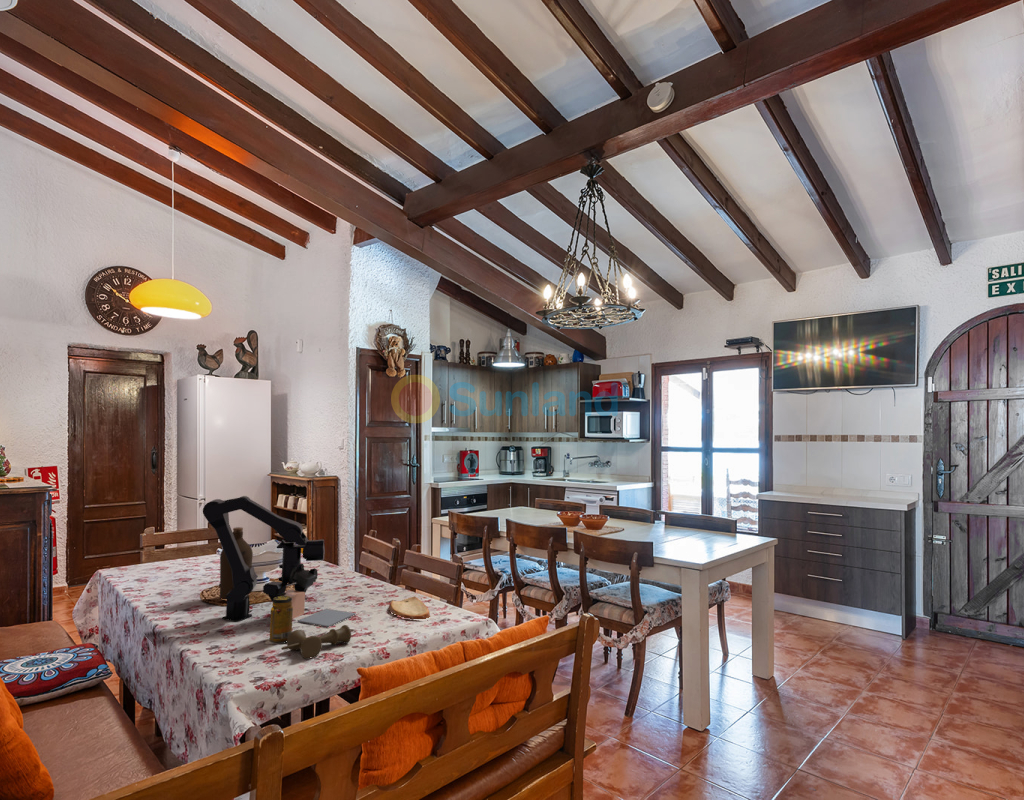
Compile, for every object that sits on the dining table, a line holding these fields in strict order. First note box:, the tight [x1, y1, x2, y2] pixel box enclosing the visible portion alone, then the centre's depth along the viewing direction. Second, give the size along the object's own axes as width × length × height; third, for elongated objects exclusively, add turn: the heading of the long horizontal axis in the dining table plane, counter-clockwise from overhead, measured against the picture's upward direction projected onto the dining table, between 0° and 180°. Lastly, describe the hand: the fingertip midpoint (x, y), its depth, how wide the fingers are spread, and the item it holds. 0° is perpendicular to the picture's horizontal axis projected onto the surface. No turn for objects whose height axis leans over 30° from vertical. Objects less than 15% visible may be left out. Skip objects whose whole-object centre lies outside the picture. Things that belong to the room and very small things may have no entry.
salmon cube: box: [284, 589, 306, 620], centre depth 192 cm, size 7×7×7 cm
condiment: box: [264, 596, 293, 645], centre depth 171 cm, size 7×8×12 cm
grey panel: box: [297, 608, 357, 628], centre depth 190 cm, size 14×12×1 cm
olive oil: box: [218, 526, 254, 599], centre depth 210 cm, size 11×11×25 cm
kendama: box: [281, 624, 352, 659], centre depth 163 cm, size 6×10×20 cm
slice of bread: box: [388, 595, 431, 619], centre depth 200 cm, size 18×18×4 cm
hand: (289, 609), depth 192 cm, fingers open, 9 cm apart
